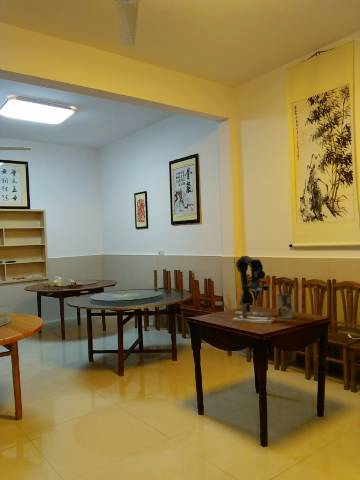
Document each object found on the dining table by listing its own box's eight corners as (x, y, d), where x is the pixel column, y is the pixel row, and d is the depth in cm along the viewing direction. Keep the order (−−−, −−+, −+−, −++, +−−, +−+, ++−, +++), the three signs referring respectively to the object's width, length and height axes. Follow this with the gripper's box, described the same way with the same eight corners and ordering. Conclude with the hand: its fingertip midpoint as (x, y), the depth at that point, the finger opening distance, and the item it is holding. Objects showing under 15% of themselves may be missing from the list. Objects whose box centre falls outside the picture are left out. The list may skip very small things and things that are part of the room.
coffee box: (292, 316, 273) (291, 293, 273) (292, 318, 267) (291, 295, 267) (279, 316, 276) (278, 293, 276) (278, 318, 270) (277, 295, 270)
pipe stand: (237, 317, 277) (236, 309, 277) (274, 319, 266) (273, 311, 266) (232, 321, 266) (231, 312, 266) (270, 323, 255) (270, 314, 255)
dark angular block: (244, 316, 271) (244, 304, 271) (247, 316, 270) (246, 304, 270) (242, 317, 266) (242, 305, 266) (245, 317, 266) (244, 306, 266)
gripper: (239, 278, 268) (240, 301, 268) (266, 279, 260) (267, 302, 260) (243, 277, 278) (244, 298, 278) (269, 277, 270) (270, 299, 271)
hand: (256, 300), depth 272 cm, fingers closed
